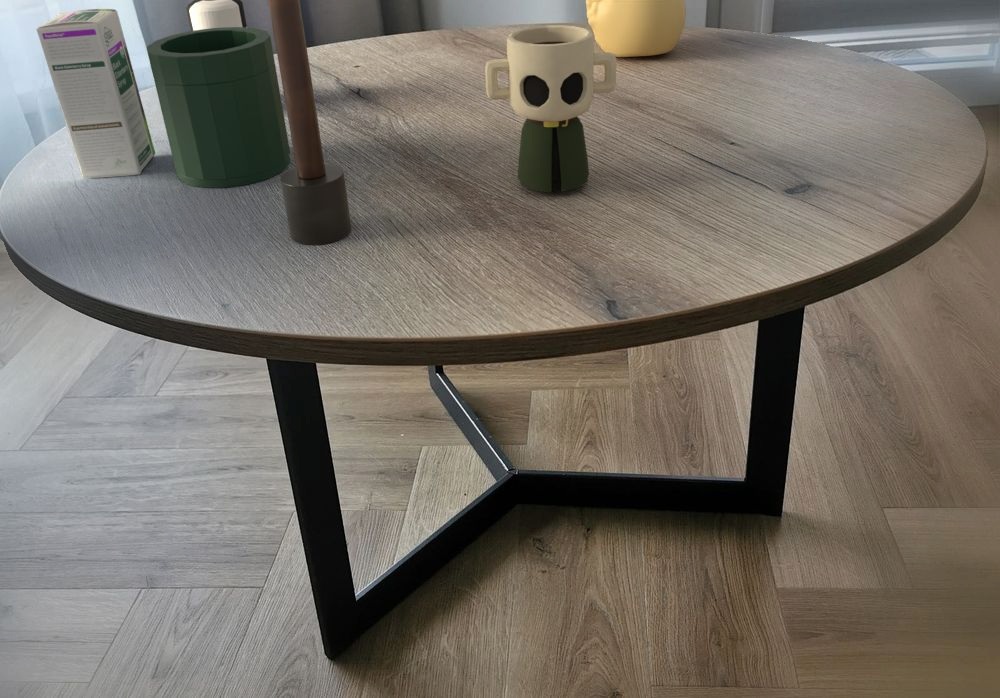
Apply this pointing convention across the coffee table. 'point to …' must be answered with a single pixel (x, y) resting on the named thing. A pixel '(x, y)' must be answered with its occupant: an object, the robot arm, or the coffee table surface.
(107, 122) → the syrup box
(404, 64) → the coffee table surface
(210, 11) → the medicine bottle
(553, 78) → the character mug
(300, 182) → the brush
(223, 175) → the jar
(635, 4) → the sculpture
